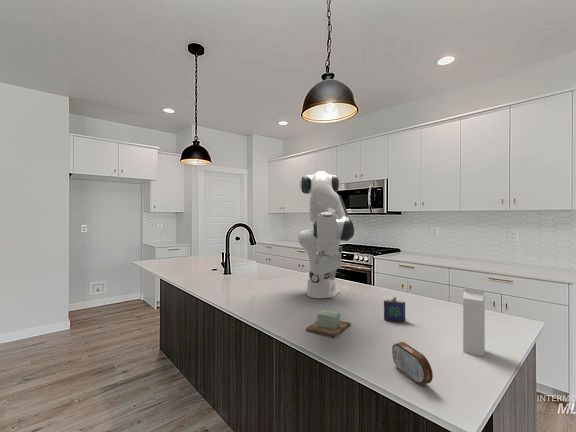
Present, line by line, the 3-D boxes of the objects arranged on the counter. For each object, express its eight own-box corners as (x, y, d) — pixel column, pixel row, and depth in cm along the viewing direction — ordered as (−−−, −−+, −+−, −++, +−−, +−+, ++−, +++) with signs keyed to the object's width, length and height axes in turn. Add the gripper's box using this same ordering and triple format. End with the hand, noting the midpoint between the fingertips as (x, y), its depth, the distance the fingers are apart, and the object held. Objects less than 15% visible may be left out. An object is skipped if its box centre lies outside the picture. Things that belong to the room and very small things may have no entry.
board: (323, 319, 136) (323, 316, 136) (350, 325, 129) (350, 322, 129) (305, 330, 123) (305, 327, 123) (334, 338, 116) (334, 335, 116)
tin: (433, 389, 82) (433, 359, 82) (424, 391, 81) (424, 360, 81) (398, 363, 96) (398, 337, 96) (390, 364, 95) (390, 338, 95)
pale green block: (322, 321, 131) (322, 309, 130) (339, 324, 127) (339, 311, 127) (317, 325, 125) (317, 313, 125) (335, 329, 121) (335, 316, 121)
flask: (405, 320, 134) (405, 297, 134) (405, 322, 131) (405, 298, 131) (383, 318, 137) (383, 295, 136) (384, 321, 134) (383, 297, 134)
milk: (465, 346, 108) (464, 285, 108) (485, 350, 105) (484, 288, 105) (463, 352, 103) (462, 289, 103) (483, 357, 100) (483, 291, 100)
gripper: (322, 253, 117) (323, 288, 117) (343, 247, 134) (343, 278, 134) (308, 252, 120) (309, 286, 121) (330, 246, 137) (331, 276, 137)
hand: (327, 282), depth 127 cm, fingers open, 8 cm apart
